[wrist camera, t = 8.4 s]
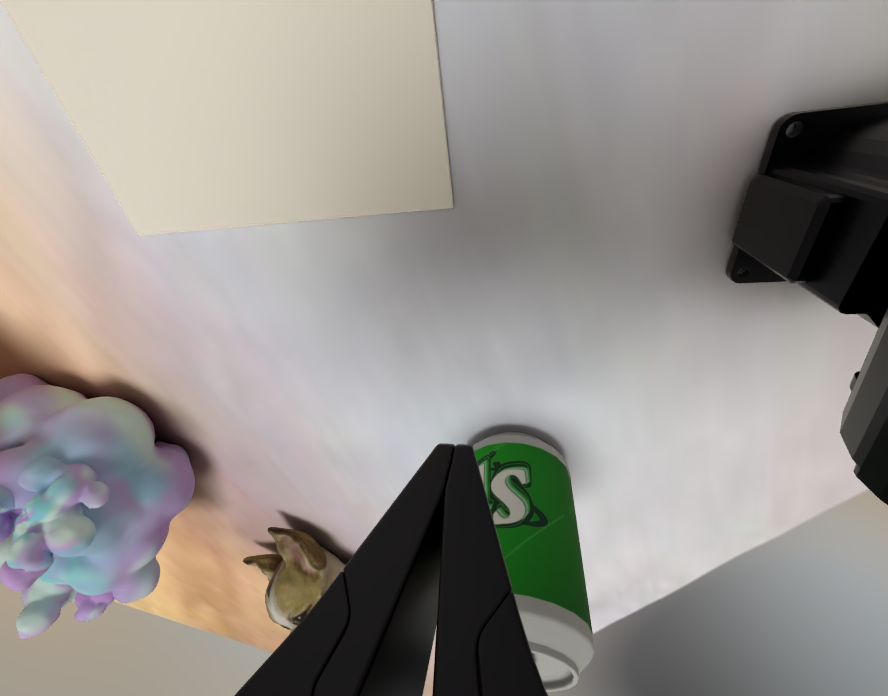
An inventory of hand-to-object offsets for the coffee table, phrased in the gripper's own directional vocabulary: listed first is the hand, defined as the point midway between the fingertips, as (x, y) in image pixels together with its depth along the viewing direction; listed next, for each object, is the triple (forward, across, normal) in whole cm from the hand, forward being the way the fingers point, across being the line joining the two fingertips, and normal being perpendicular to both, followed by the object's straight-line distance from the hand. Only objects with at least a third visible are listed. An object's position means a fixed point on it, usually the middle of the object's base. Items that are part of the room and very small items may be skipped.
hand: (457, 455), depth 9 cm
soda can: (+12, -1, +15) cm, 19 cm away
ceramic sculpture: (+12, +20, +33) cm, 40 cm away
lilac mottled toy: (+12, +36, +14) cm, 41 cm away
